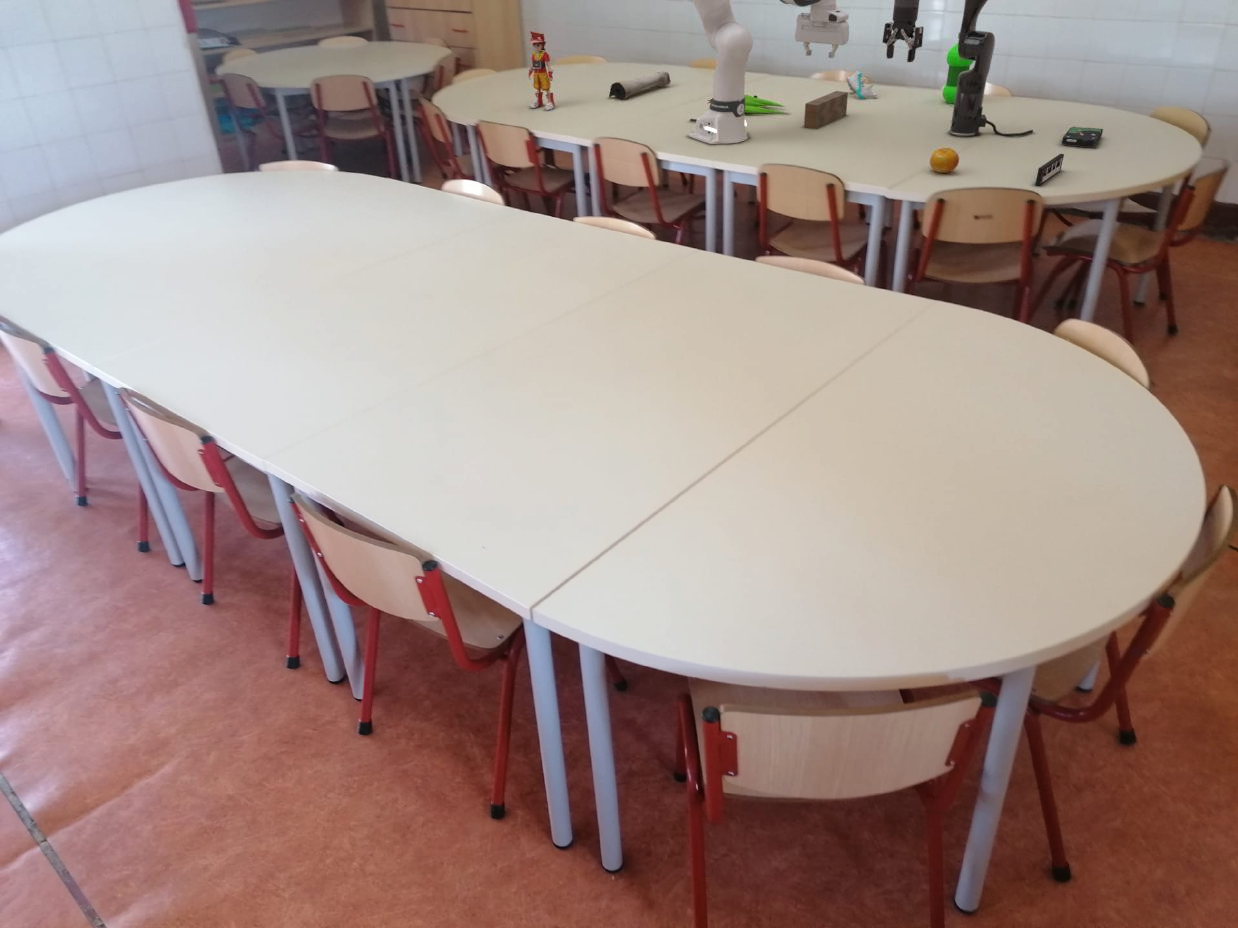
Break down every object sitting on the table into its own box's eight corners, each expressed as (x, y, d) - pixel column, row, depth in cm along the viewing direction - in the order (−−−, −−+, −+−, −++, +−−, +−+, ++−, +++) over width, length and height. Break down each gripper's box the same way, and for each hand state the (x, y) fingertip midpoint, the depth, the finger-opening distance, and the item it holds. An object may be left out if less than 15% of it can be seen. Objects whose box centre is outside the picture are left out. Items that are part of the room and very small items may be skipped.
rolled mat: (651, 76, 408) (662, 61, 399) (662, 93, 408) (674, 79, 400) (605, 92, 391) (616, 77, 383) (617, 110, 391) (628, 95, 383)
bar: (834, 113, 350) (836, 91, 345) (846, 115, 347) (848, 92, 342) (803, 127, 337) (805, 103, 332) (815, 129, 334) (817, 105, 329)
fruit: (924, 163, 281) (941, 140, 278) (925, 165, 289) (941, 143, 286) (946, 178, 280) (963, 155, 277) (947, 180, 288) (963, 158, 285)
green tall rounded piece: (973, 101, 354) (984, 32, 339) (955, 106, 349) (966, 36, 335) (952, 97, 361) (962, 29, 346) (934, 102, 356) (944, 33, 342)
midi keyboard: (1039, 185, 269) (1043, 168, 266) (1035, 184, 270) (1038, 168, 267) (1060, 170, 279) (1064, 154, 277) (1056, 169, 280) (1060, 153, 277)
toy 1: (525, 109, 381) (517, 32, 364) (534, 104, 388) (527, 28, 371) (550, 110, 377) (543, 32, 360) (559, 105, 384) (553, 28, 367)
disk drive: (1094, 148, 296) (1101, 136, 306) (1096, 140, 295) (1103, 128, 305) (1060, 145, 301) (1068, 133, 311) (1062, 137, 299) (1070, 125, 309)
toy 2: (703, 112, 356) (773, 124, 344) (705, 98, 354) (775, 110, 341) (734, 102, 377) (800, 113, 364) (735, 89, 374) (802, 100, 361)
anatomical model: (842, 70, 373) (865, 64, 372) (844, 96, 379) (868, 89, 378) (852, 78, 360) (877, 71, 360) (855, 104, 366) (879, 98, 366)
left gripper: (792, 14, 320) (790, 55, 327) (843, 17, 308) (840, 60, 316) (802, 11, 323) (799, 52, 331) (852, 14, 312) (849, 57, 320)
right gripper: (880, 4, 284) (875, 59, 293) (916, 8, 274) (909, 65, 283) (897, 1, 287) (891, 55, 296) (932, 5, 277) (925, 61, 286)
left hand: (819, 56), depth 323 cm, fingers open, 8 cm apart
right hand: (899, 60), depth 290 cm, fingers open, 8 cm apart
